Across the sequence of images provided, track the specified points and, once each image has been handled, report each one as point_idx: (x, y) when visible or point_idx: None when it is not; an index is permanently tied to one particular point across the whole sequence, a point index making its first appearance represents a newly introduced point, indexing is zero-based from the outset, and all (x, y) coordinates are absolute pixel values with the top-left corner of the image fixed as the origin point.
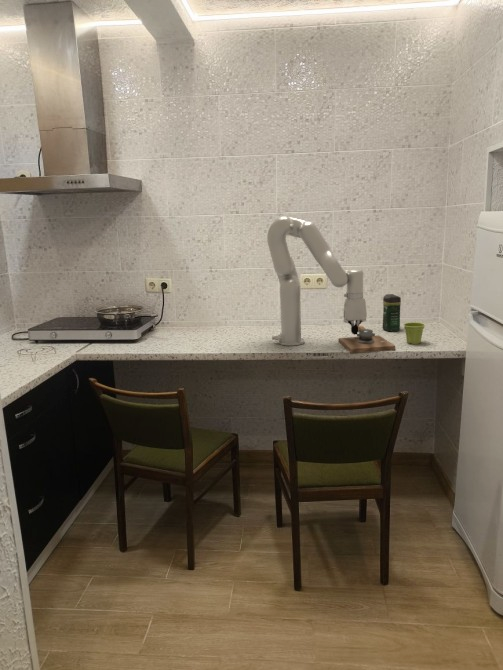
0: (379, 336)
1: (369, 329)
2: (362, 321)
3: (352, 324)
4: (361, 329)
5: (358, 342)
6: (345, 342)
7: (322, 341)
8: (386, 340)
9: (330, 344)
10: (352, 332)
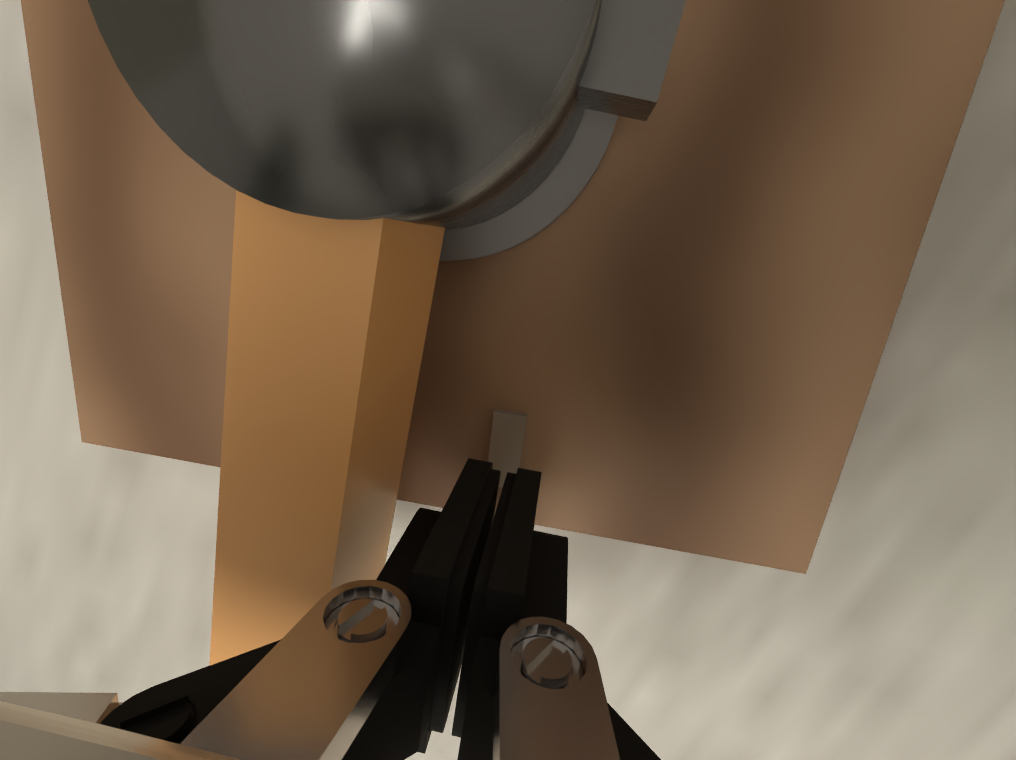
0: (90, 368)
1: (139, 72)
2: (90, 719)
3: (574, 691)
4: (414, 200)
5: None
6: (894, 195)
7: (986, 672)
8: (34, 29)
9: (992, 461)
10: (555, 535)
